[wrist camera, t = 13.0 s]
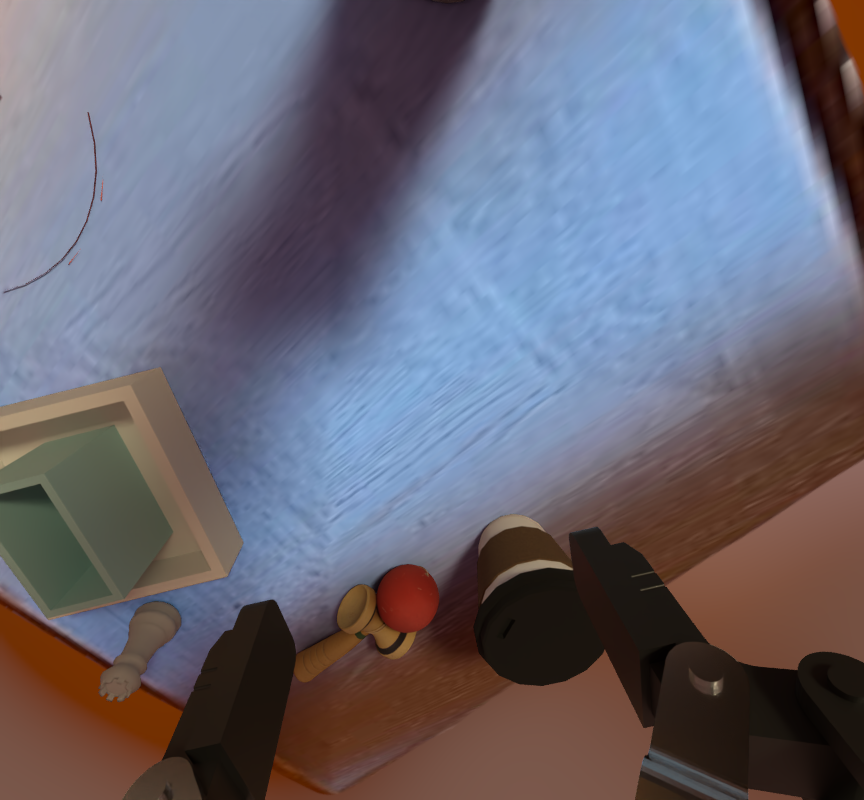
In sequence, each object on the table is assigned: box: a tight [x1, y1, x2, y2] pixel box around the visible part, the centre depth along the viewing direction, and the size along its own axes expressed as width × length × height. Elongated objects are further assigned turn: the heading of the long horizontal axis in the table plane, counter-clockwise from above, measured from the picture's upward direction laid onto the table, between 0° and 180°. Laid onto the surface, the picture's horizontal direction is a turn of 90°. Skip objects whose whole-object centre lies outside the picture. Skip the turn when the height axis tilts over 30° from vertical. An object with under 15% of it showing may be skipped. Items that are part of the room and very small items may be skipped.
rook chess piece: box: [99, 601, 181, 702], centre depth 42 cm, size 4×4×8 cm
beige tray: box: [0, 367, 243, 620], centre depth 38 cm, size 18×16×4 cm
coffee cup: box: [473, 514, 605, 686], centre depth 40 cm, size 11×11×12 cm
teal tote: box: [0, 425, 173, 618], centre depth 35 cm, size 11×6×8 cm, turn 14°
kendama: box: [294, 564, 439, 682], centre depth 45 cm, size 8×6×18 cm
